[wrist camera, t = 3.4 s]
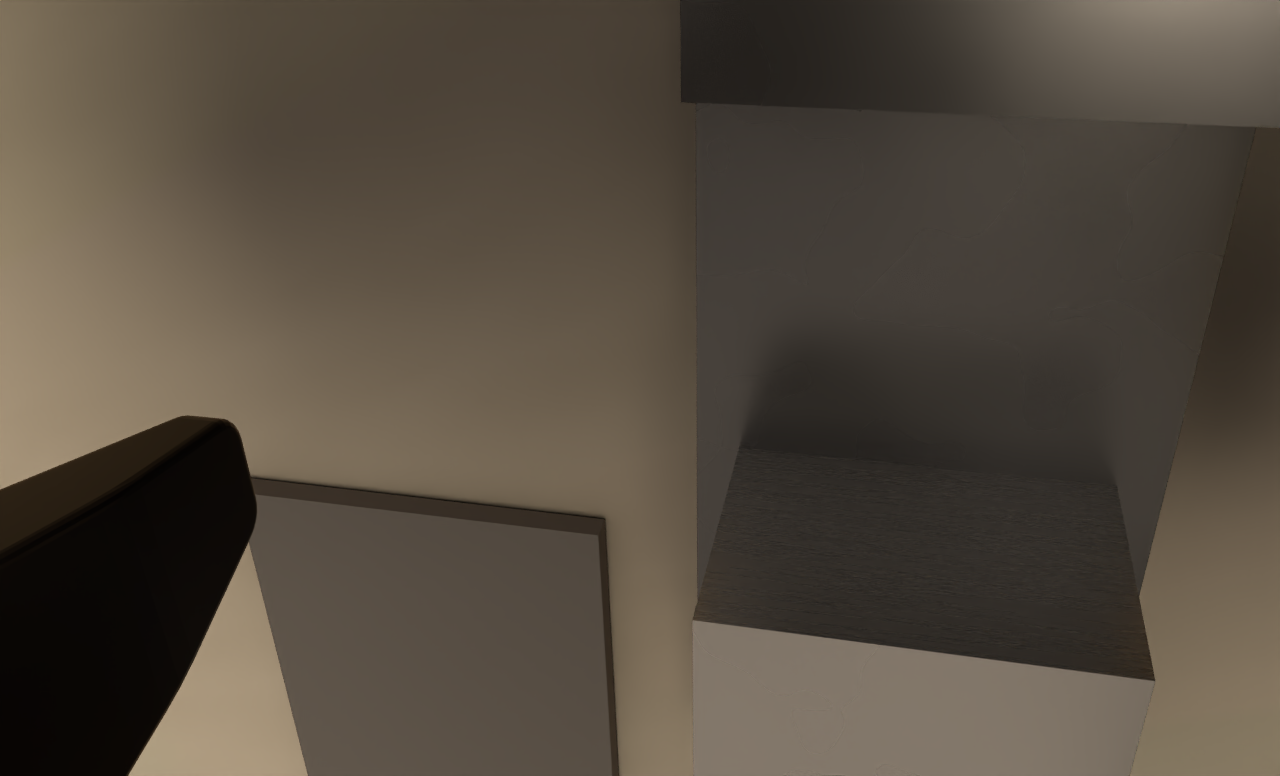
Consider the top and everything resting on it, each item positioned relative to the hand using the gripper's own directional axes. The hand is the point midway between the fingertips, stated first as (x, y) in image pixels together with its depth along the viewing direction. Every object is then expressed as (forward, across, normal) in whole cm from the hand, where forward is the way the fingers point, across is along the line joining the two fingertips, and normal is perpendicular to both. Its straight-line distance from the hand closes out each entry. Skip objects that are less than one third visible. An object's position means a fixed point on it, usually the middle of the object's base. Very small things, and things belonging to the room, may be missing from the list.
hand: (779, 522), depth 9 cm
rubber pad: (+7, +6, +10) cm, 13 cm away
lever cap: (+4, -1, +4) cm, 6 cm away
